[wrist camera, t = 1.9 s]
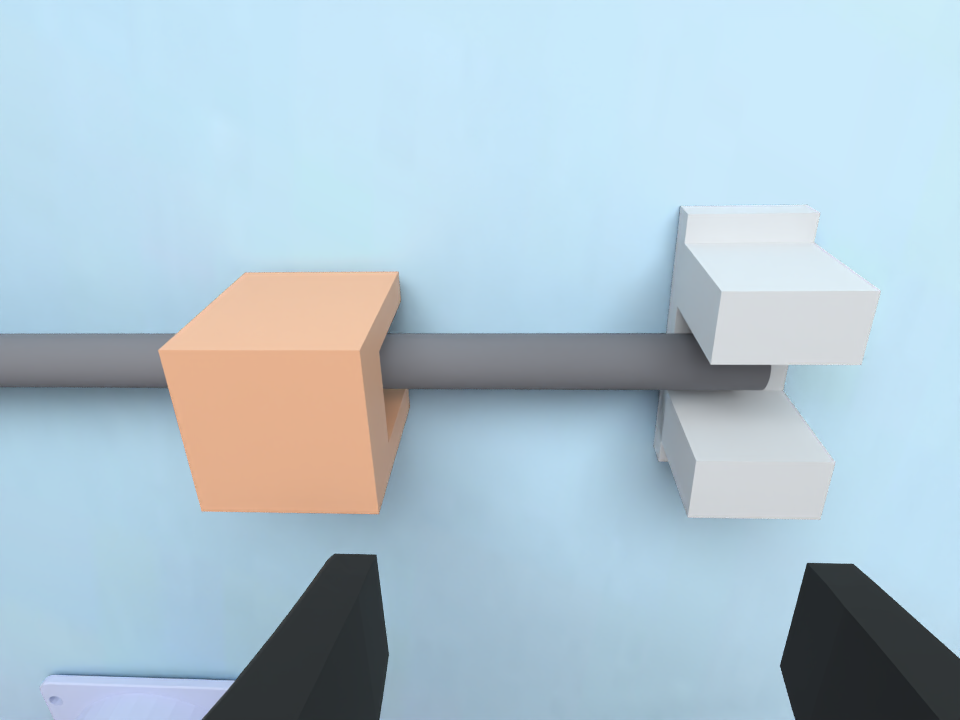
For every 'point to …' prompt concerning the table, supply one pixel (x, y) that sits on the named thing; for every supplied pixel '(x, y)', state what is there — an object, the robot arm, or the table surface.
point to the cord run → (627, 359)
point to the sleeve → (289, 393)
